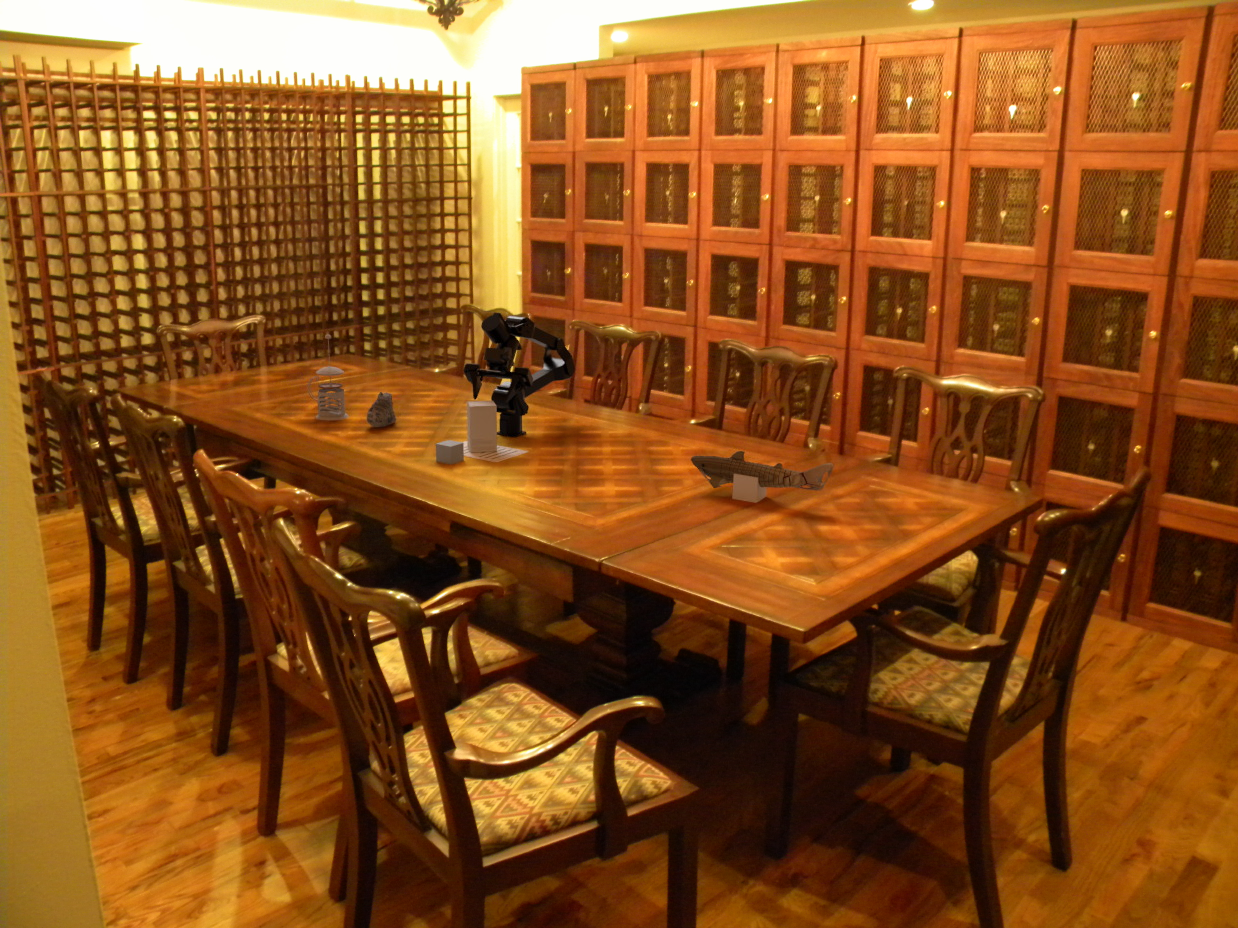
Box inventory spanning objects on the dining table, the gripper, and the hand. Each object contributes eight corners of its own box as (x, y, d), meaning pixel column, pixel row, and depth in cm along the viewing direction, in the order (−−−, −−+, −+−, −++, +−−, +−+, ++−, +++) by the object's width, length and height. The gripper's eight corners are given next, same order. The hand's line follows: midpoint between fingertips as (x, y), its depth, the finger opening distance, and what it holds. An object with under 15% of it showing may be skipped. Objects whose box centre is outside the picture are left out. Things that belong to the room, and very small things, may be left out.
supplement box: (497, 451, 285) (497, 405, 282) (469, 452, 283) (469, 406, 280) (494, 445, 292) (493, 400, 289) (466, 446, 290) (466, 400, 287)
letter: (469, 440, 297) (469, 439, 297) (529, 452, 286) (529, 451, 286) (435, 450, 286) (435, 449, 286) (496, 463, 275) (496, 462, 275)
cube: (449, 458, 279) (448, 440, 277) (463, 461, 276) (463, 442, 275) (436, 462, 275) (435, 443, 273) (451, 465, 272) (450, 446, 271)
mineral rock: (372, 432, 304) (371, 398, 301) (349, 426, 311) (348, 392, 308) (408, 425, 314) (407, 391, 311) (385, 419, 320) (384, 386, 318)
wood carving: (823, 516, 237) (827, 468, 234) (682, 491, 254) (684, 446, 251) (836, 506, 245) (840, 459, 242) (698, 482, 261) (700, 438, 258)
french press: (343, 420, 317) (340, 337, 310) (305, 419, 317) (300, 336, 311) (352, 413, 326) (348, 332, 320) (314, 412, 327) (310, 331, 320)
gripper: (465, 333, 292) (449, 380, 284) (530, 338, 287) (515, 385, 280) (476, 358, 301) (461, 403, 293) (539, 363, 296) (525, 409, 289)
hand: (490, 400), depth 289 cm, fingers open, 9 cm apart
